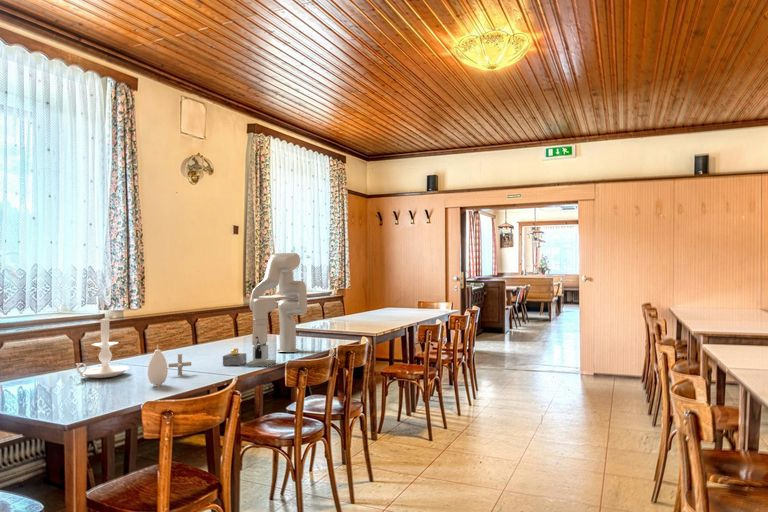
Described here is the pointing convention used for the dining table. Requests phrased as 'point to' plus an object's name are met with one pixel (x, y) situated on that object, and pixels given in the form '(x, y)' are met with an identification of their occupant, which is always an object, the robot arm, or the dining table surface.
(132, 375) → the dining table surface
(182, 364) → the pipe connector
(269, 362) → the press bed
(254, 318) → the robot arm
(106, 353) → the candlestick
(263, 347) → the block
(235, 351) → the brass pin
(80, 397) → the dining table surface
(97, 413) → the dining table surface
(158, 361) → the egg shaped candle
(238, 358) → the block
